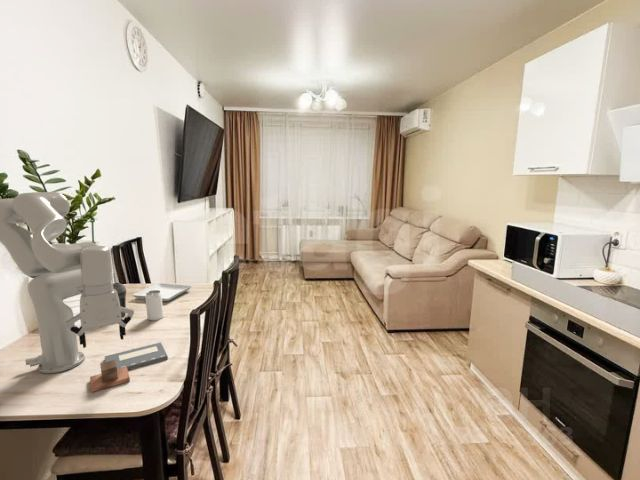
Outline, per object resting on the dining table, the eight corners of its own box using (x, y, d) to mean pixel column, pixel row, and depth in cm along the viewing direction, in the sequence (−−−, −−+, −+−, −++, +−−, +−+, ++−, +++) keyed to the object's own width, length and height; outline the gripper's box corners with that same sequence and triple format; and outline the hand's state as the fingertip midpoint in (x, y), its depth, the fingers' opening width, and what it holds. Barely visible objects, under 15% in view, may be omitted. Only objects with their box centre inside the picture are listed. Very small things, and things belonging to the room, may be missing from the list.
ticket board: (107, 375, 110) (106, 371, 110) (104, 359, 120) (104, 356, 119) (167, 358, 120) (167, 355, 120) (161, 345, 130) (160, 342, 129)
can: (144, 319, 153) (141, 293, 151) (156, 314, 159) (153, 289, 157) (155, 321, 151) (152, 295, 149) (166, 316, 157) (164, 290, 154)
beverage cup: (116, 320, 152) (111, 276, 148) (107, 317, 155) (102, 274, 152) (132, 315, 158) (127, 272, 154) (123, 312, 161) (119, 270, 158)
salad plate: (192, 291, 192) (192, 285, 191) (168, 304, 172) (167, 298, 171) (159, 288, 197) (159, 282, 196) (131, 301, 176) (131, 294, 176)
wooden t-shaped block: (91, 392, 101) (89, 376, 100) (90, 380, 107) (88, 364, 106) (129, 380, 107) (128, 365, 106) (127, 370, 113) (125, 355, 112)
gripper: (61, 297, 94) (68, 355, 97) (133, 287, 103) (137, 339, 107) (62, 289, 100) (68, 343, 103) (130, 280, 109) (134, 330, 113)
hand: (103, 341), depth 105 cm, fingers open, 9 cm apart
